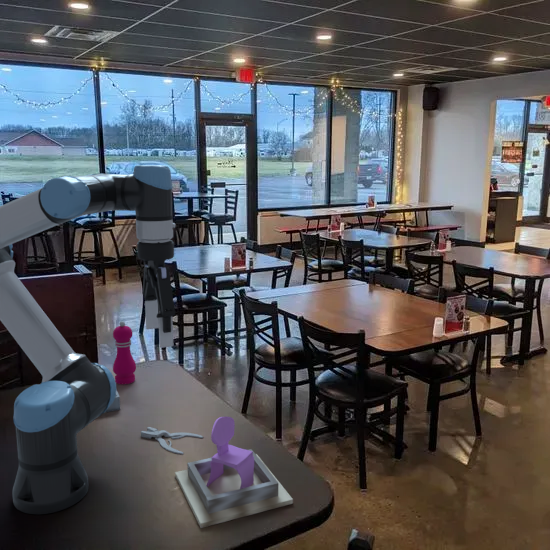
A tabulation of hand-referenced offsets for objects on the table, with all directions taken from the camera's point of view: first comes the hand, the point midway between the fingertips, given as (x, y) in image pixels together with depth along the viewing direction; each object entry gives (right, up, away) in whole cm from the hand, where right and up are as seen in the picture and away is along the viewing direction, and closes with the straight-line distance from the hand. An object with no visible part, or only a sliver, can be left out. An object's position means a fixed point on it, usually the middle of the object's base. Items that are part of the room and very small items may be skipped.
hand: (159, 337), depth 123 cm
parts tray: (-30, -24, +43) cm, 58 cm away
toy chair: (+16, -32, +1) cm, 36 cm away
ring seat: (+16, -33, +1) cm, 37 cm away
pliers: (-2, -29, +23) cm, 37 cm away
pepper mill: (-23, -21, +60) cm, 68 cm away
